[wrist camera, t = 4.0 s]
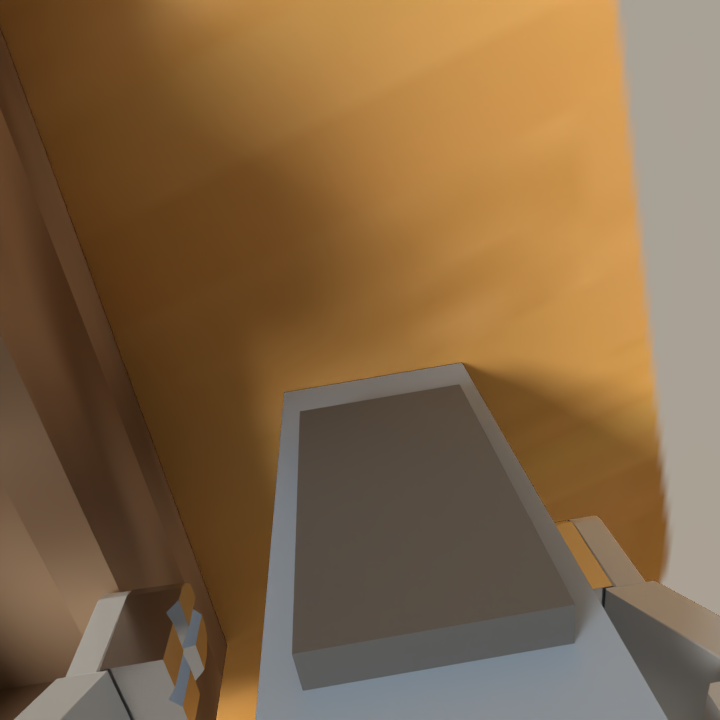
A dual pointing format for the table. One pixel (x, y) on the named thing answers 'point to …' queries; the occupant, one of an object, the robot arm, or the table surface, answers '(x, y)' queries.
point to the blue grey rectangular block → (425, 570)
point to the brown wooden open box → (69, 441)
